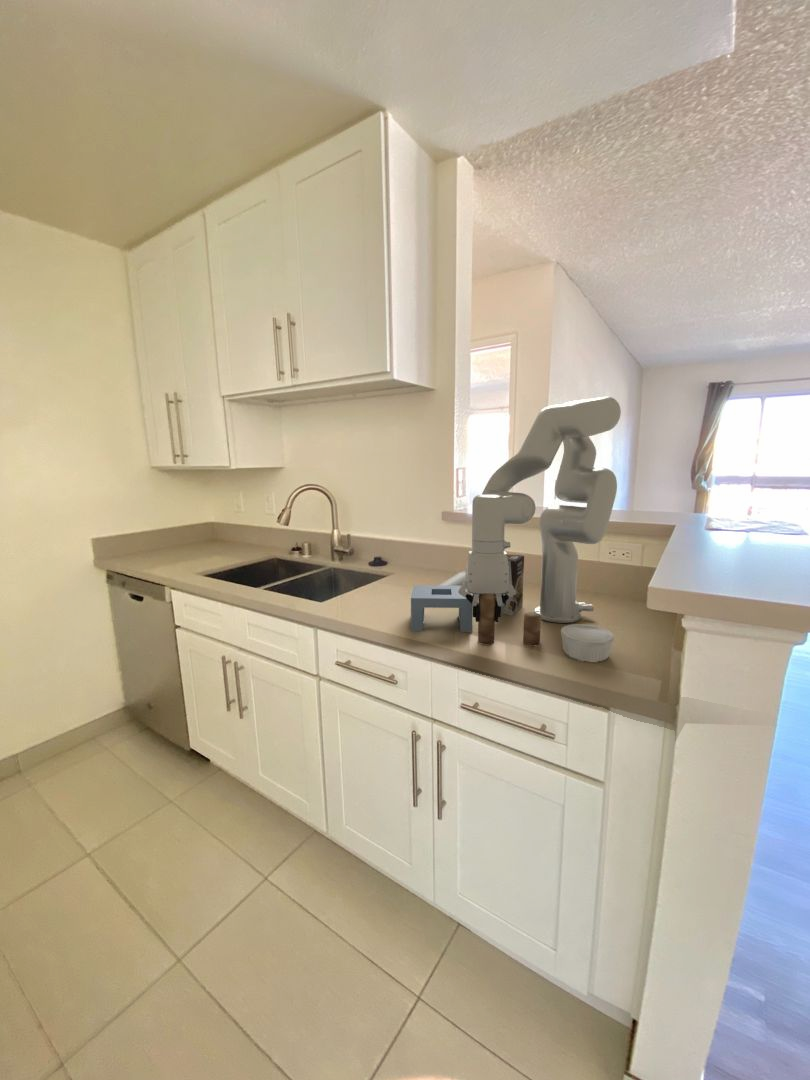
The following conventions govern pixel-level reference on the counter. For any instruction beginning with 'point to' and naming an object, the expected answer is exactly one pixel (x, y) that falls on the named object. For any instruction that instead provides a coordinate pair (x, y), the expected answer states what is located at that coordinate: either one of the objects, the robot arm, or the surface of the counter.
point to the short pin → (532, 628)
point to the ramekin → (586, 642)
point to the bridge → (439, 604)
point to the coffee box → (514, 584)
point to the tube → (455, 580)
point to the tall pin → (486, 619)
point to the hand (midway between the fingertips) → (486, 619)
